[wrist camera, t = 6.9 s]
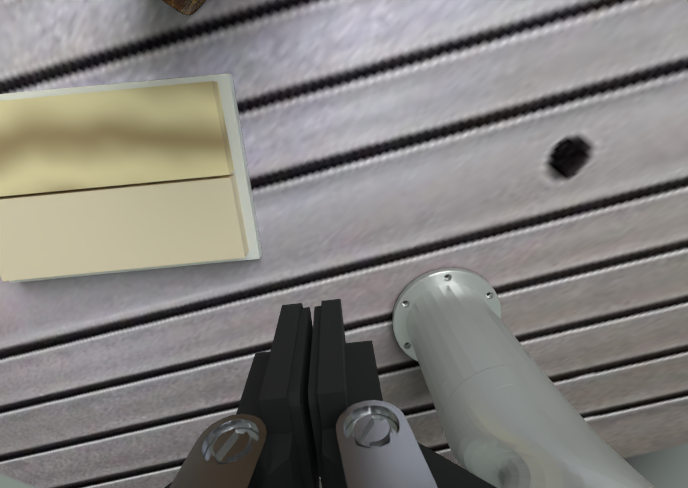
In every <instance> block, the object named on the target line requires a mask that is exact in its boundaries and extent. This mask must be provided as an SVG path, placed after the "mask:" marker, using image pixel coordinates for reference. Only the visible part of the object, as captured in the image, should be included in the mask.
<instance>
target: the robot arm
mask: <svg viewBox="0 0 688 488" xmlns="http://www.w3.org/2000/svg"><path fill="white" fill-rule="evenodd" d="M446 274H447V276H445V275H446ZM403 301H406V302H403ZM501 316H502V314H501V304H500V301H499V297H498V296H497V294H496V292H495V290H494V289H493V288H492V287H491V285H490V284H489V283H488V282H487V281H486V280H485V279H483V278H482V277H481V276H479V275H477V274H476V273H474V272H471V271H468V270H465V269H460V268H442V269H437V270H433V271H430V272H428V273H426V274H423V275H421V276H420V277H418V278H417V279H415V280H414V281H412V282H411V283H410V284H409V285H408V286H407V287H406V288H405V289H404V290H403V292H402V293H401V294H400V296H399V298H398V300H397V302H396V304H395V307H394V310H393V315H392V325H393V331H394V334H395V337H396V340H397V342H398V344H399V346H400V347H401V348H402V350H403V351H404V352H405V353H406V354H407V355H408V356H410V357H411V358H412V359H414V360H416V361H418V362H419V365H420V367H421V370H422V373H423V376H424V378H425V381H426V384H427V387H428V389H429V392H430V395H431V398H432V400H433V403H434V406H435V409H436V412H437V414H438V417H439V420H440V423H441V425H442V428H443V431H444V433H445V436H446V439H447V441H448V444H449V446H450V448H451V451H452V452H453V454H454V456H455V457H456V459H457V460H458V462H459V463H460V464H461V466H462V467H463V468H464V469H463V468H462V467H460V466H458V465H456V464H455V463H453V462H451V461H449V460H448V459H446V458H444V457H442V456H441V455H439V454H437V453H436V452H434V451H432V450H430V449H429V448H427V447H425V446H423V445H422V444H420V443H418V442H417V441H416V439H415V437H414V434H413V432H412V430H411V428H410V426H409V424H408V421H407V419H406V417H405V416H404V414H403V413H402V411H401V410H400V409H398V408H397V407H395V406H394V405H392V404H390V403H387V402H384V401H383V400H382V394H381V389H380V383H379V378H378V372H377V366H376V361H375V355H374V350H373V344H372V341H363V342H354V343H346V341H345V333H344V324H343V316H342V307H341V300H340V299H335V300H326V301H322V304H321V306H317V307H315V310H314V322H313V326H312V319H311V312H310V308H309V307H307V308H303V306H302V303H298V304H289V305H282V308H281V312H280V316H279V320H278V324H277V328H276V332H275V336H274V340H273V344H272V348H271V351H270V352H261V353H256V354H255V356H254V359H253V363H252V366H251V369H250V372H249V375H248V378H247V382H246V385H245V388H244V391H243V394H242V398H241V401H240V404H239V407H238V410H237V414H236V415H232V416H229V417H226V418H223V419H221V420H219V421H217V422H215V423H214V424H212V425H211V426H210V427H208V428H207V429H206V430H205V431H204V432H203V433H202V434H201V436H200V437H199V438H198V440H197V441H196V443H195V445H194V446H193V448H192V450H191V451H190V453H189V455H188V457H187V458H186V460H185V462H184V463H183V465H182V467H181V468H180V470H179V472H178V474H177V475H176V477H175V479H174V480H173V482H172V483H170V484H169V485H167V486H166V487H165V488H319V477H321V483H322V488H655V487H654V486H652V485H651V484H650V483H649V482H648V481H647V480H646V479H645V478H644V477H642V476H641V475H640V474H639V473H638V472H637V471H636V470H635V469H634V468H633V467H631V466H630V465H629V464H628V463H627V462H626V461H625V460H624V459H623V458H622V457H621V456H619V455H618V454H617V453H616V452H615V451H614V450H613V449H612V448H611V447H610V446H609V445H608V444H607V443H606V442H605V441H604V440H603V439H602V438H601V437H600V436H599V435H598V434H597V433H596V432H595V431H594V430H593V429H592V428H591V427H590V426H589V425H588V423H587V422H586V421H585V420H584V419H583V418H582V417H581V416H580V414H579V413H578V412H577V411H576V410H575V409H574V408H573V407H572V405H571V404H570V403H569V402H568V401H567V400H566V398H565V397H564V396H563V395H562V394H561V392H560V391H559V390H558V389H557V388H556V386H555V385H554V384H553V383H552V382H551V380H550V379H549V378H548V377H547V375H546V374H545V373H544V372H543V371H542V369H541V368H540V367H539V366H538V364H537V363H536V362H535V361H534V360H533V358H532V357H531V356H530V355H529V353H528V352H527V351H526V350H525V349H524V347H523V346H522V345H521V344H520V343H519V341H518V340H517V339H516V338H515V336H514V335H513V334H512V333H511V332H510V330H509V329H508V328H507V327H506V326H505V324H504V323H503V322H502V321H501Z"/></svg>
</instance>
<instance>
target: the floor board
mask: <svg viewBox="0 0 688 488" xmlns="http://www.w3.org/2000/svg"><path fill="white" fill-rule="evenodd" d="M208 81H214V82H218V86H219V92H220V97H221V102H222V108H223V113H224V118H225V124H226V129H227V134H228V140H229V145H230V150H231V156H232V161H233V166H234V171H233V172H232V173H231V174H230V175H221V176H211V177H200V178H190V179H179V180H169V181H158V182H148V183H137V184H127V185H116V186H106V187H95V188H85V189H74V190H64V191H53V192H43V193H32V194H22V195H11V196H1V197H0V276H1V279H2V281H11V283H17V282H27V281H37V280H48V279H58V278H68V277H78V276H89V275H99V274H109V273H119V272H129V271H140V270H150V269H160V268H170V267H180V266H191V265H201V264H211V263H221V262H232V261H242V260H252V259H260V258H261V255H262V249H261V243H260V237H259V231H258V226H257V220H256V214H255V208H254V202H253V196H252V190H251V184H250V178H249V172H248V166H247V160H246V154H245V148H244V143H243V137H242V131H241V125H240V119H239V113H238V107H237V101H236V95H235V89H234V83H233V77H232V74H229V73H226V74H215V75H204V76H193V77H183V78H172V79H161V80H150V81H139V82H128V83H117V84H106V85H96V86H85V87H74V88H63V89H52V90H41V91H30V92H19V93H9V94H0V101H2V100H13V99H24V98H35V97H45V96H56V95H67V94H78V93H89V92H100V91H110V90H121V89H132V88H143V87H154V86H165V85H176V84H186V83H197V82H208Z"/></svg>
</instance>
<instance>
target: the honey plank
mask: <svg viewBox="0 0 688 488" xmlns="http://www.w3.org/2000/svg"><path fill="white" fill-rule="evenodd" d="M233 171H234V166H233V161H232V156H231V150H230V145H229V140H228V134H227V129H226V124H225V118H224V113H223V108H222V102H221V97H220V92H219V86H218V82H214V81H208V82H197V83H186V84H176V85H165V86H154V87H143V88H132V89H121V90H110V91H100V92H89V93H78V94H67V95H56V96H45V97H35V98H24V99H13V100H2V101H0V197H1V196H11V195H22V194H32V193H43V192H53V191H64V190H74V189H85V188H95V187H106V186H116V185H127V184H137V183H148V182H158V181H169V180H179V179H190V178H200V177H211V176H221V175H230V174H231V173H232V172H233Z"/></svg>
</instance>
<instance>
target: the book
mask: <svg viewBox="0 0 688 488" xmlns="http://www.w3.org/2000/svg"><path fill="white" fill-rule="evenodd" d="M162 1H164V2H165V3H167V4H168V5H170V6H171V7H173V8H174V9H176V10H177V11H179V12H180V13H182V14H185V15H191V14H193V13H194V12H196V11H197V10H198V8H199V7H200V6H201V5H202V4H203V3H204V2H205V1H206V0H162Z"/></svg>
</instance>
